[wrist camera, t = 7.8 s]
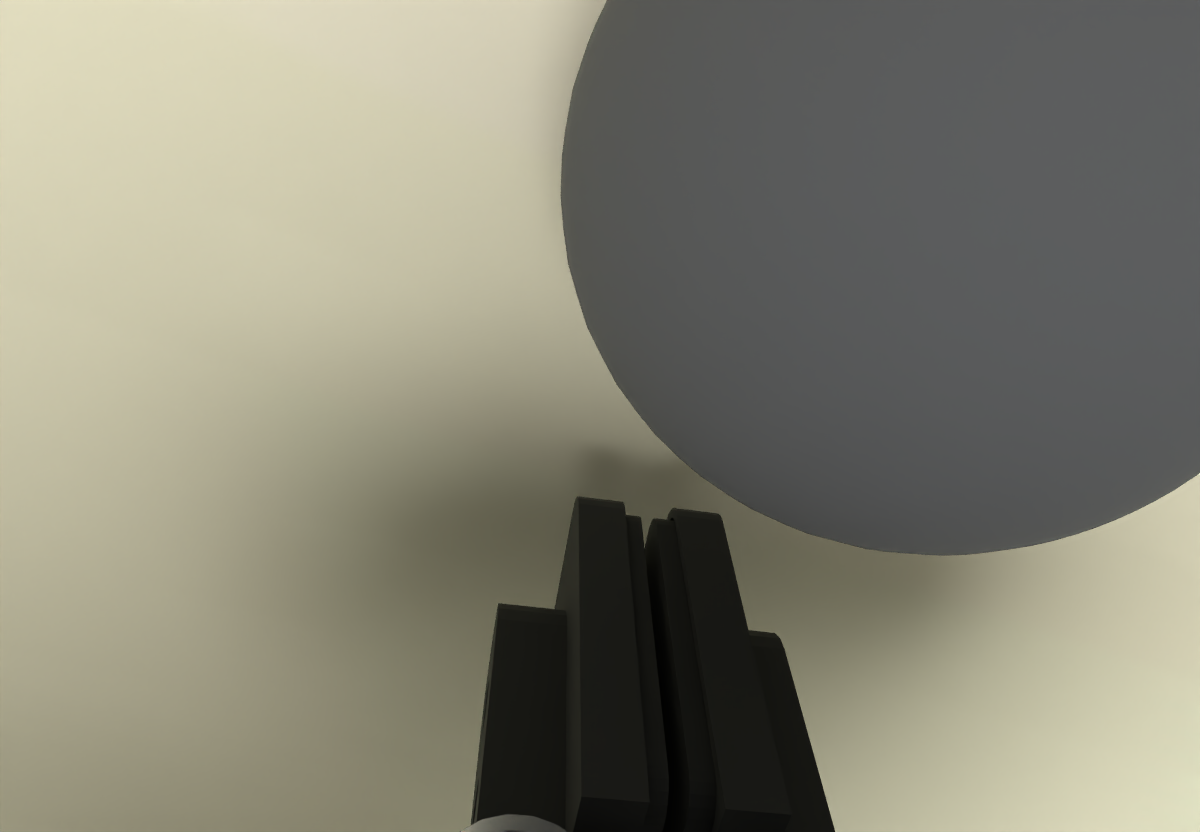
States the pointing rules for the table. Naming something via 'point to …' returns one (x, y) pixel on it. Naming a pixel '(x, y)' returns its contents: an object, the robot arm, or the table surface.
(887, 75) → the dark grey ball
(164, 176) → the table surface
